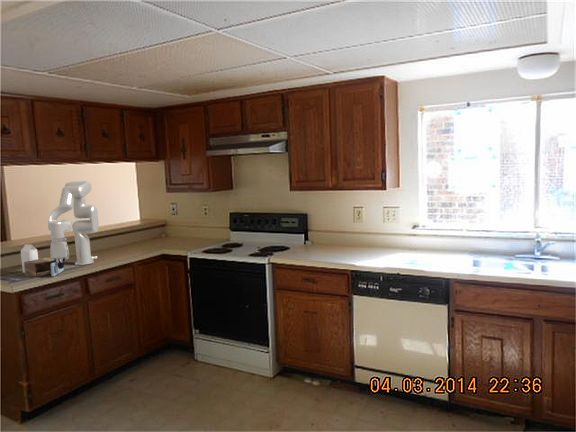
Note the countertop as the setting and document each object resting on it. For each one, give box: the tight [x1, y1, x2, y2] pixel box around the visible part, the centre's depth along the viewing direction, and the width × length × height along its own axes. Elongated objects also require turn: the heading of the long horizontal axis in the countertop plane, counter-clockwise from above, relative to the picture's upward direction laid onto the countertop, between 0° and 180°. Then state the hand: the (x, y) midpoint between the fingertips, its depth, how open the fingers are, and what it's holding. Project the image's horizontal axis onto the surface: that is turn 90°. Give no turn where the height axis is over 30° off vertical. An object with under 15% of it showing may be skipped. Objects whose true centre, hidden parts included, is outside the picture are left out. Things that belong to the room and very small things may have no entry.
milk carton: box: [20, 243, 39, 274], centre depth 302 cm, size 7×7×19 cm
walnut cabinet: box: [24, 256, 61, 278], centre depth 296 cm, size 18×12×9 cm, turn 148°
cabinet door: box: [50, 259, 65, 277], centre depth 291 cm, size 18×2×8 cm, turn 8°
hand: (61, 268), depth 288 cm, fingers closed
